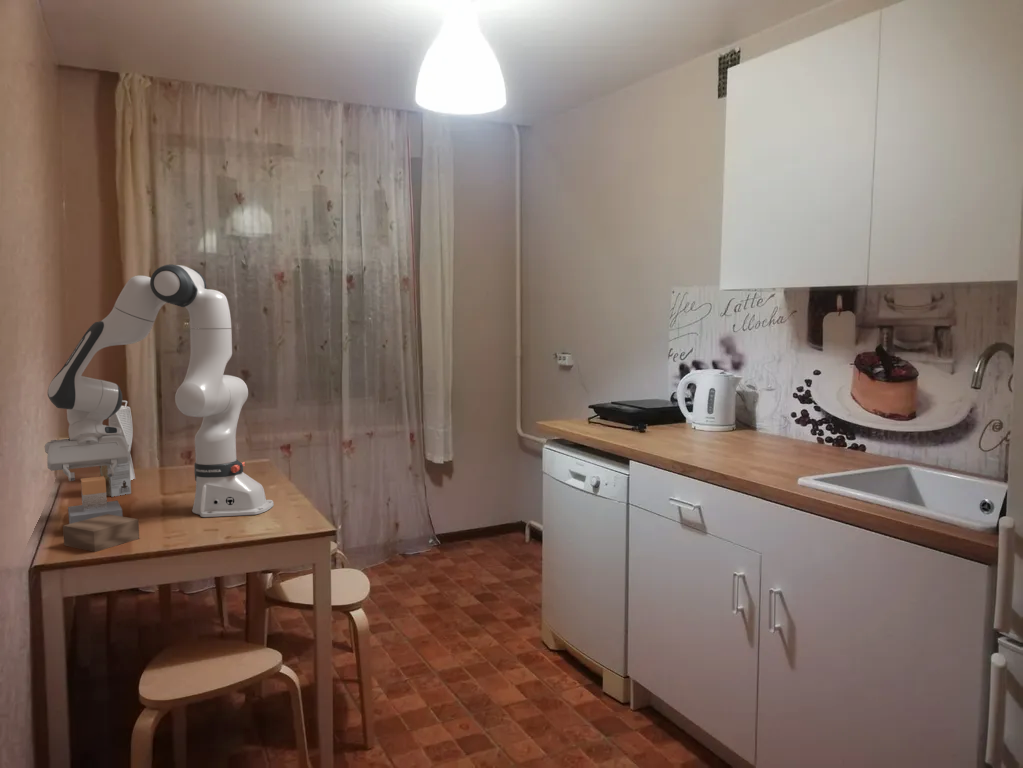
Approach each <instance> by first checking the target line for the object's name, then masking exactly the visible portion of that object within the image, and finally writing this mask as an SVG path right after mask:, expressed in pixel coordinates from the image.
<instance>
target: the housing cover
mask: <svg viewBox="0 0 1023 768" xmlns="http://www.w3.org/2000/svg"><path fill="white" fill-rule="evenodd" d="M80 488H81V491H82V492H81V495H82V494H83V495H89V494H98V493H106V480H105V478H104V476H91V477H82V478H80Z"/></svg>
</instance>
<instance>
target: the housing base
mask: <svg viewBox="0 0 1023 768" xmlns="http://www.w3.org/2000/svg"><path fill="white" fill-rule="evenodd" d="M107 496H108V495H106V493H98V494H89V495H83V494H82V491H81V505H82V508H83V511H84V512H87V511H95V510H102V509H107V502H108V499H107Z"/></svg>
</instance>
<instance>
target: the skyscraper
mask: <svg viewBox="0 0 1023 768" xmlns="http://www.w3.org/2000/svg"><path fill="white" fill-rule="evenodd" d="M122 403H125V404H124V405H121V408H120V409H119V410H118V411H117V412H116V413H115V414H114V415H112V416H111V417H110V418H108V426H111V427H118V428H121V430H122V436H123V437H124V438H125V439H126V441H127V443H128V445H129V450H130V451H131V450H132V444H133V433H134V429H133V428H134V427H133V426H134V425H133V417H132V412H131V411H132V410H131V407H130V406H127V405H128V401H127V400H122ZM133 479H135V480H136V475H135V469H134V464H133V460H132V455H131V454H130V480H133ZM133 481H134V480H133Z"/></svg>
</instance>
